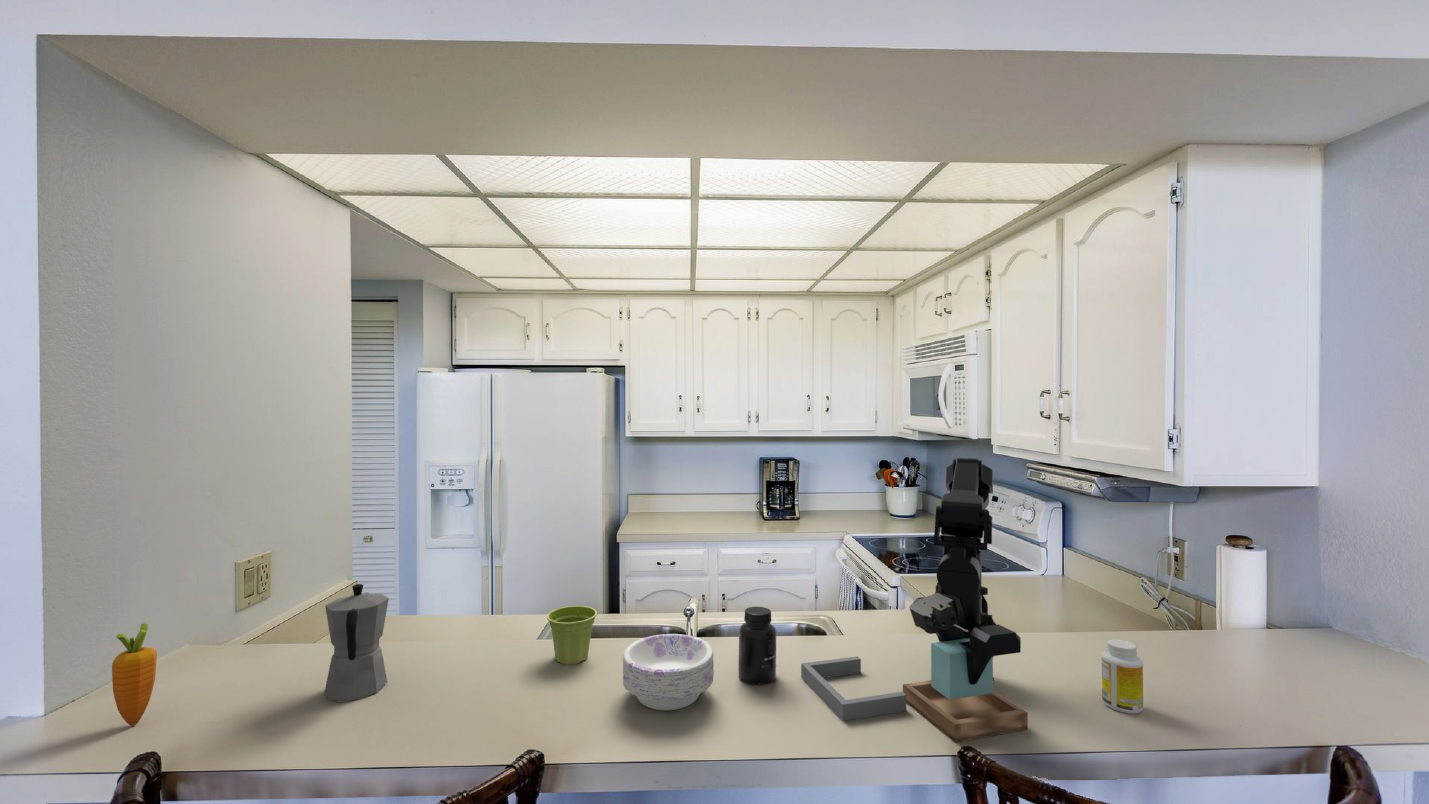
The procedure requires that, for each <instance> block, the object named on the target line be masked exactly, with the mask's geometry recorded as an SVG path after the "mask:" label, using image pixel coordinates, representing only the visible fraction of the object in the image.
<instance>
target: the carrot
mask: <svg viewBox="0 0 1429 804" xmlns="http://www.w3.org/2000/svg"><path fill="white" fill-rule="evenodd" d="M148 627H149V624H148V623H146V622H144V623H143V622H142V623H141V624H140V628H139V631H138V633H137V636H136V637H135V638H134V637H130V638H129V637H127V635H126V634H124V633H118V634H117V635H116V638H117V639H118V640H119V641H120V642H121V643H122V645H123V646H124V648H126V650H125V651H122V652H120V653H119V654H118V655H117V656H116V657H115V658H114V659H113V661H112V665H111V675H112V677H111V679H112V680H111V681H112V693H113V697H114V702H115V705H116V708H117V711H118V713H119V715H120V716H121V718H122V719H123V720H124V721H125V722H126V723H127V725H129V726H131V725H135V726H136V725H137V724H138V723H139V722H140V720H141V719H142V717H143V715H144V713H145V711H146V709H147V707H148V705H149V702H150V701H151V697H152V694H153V693H152V692H153V690H154V685H155V680H156V672H157V655H158V653H157V650H156V649H155V648H153V647H146V646H143V643H144V640H145V638H146V636H147V632H148V629H149V628H148Z"/></svg>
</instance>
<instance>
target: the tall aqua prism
mask: <svg viewBox="0 0 1429 804" xmlns="http://www.w3.org/2000/svg"><path fill="white" fill-rule="evenodd" d="M968 641H969V638H967V639H959V640H951V641H943V642H939V641H936V642H931V645H930V647H931V648H930V653H931V654H930V660H931V661H930V664H931V665H930V668H931V669H930V672H931V673H930V675H931V676H930V680H931V687H933V688H934V689H935V690H937V691H938V692H940V693H941V694H942V695H944V696H945V697H946V698H948V699H949V700H953V699H959V698H965V697H971V696H978V695H984V694H990V693H993V691H994V681H993V678H994V673H993V672H994V668H993V667H994V666H993V665H994V661H993V659H994V657H995V656H992V658H991V659H990V661H989V662H988V664H987V666H986V668H985V669H984V671H983V673H982V675H981V677H980V678H979V680H978V682H977V683H976V684H973V685H971V684H970V683H969V678H968V669H967V655H966V651H965V650H964V649H963V647H962V646H961V645H960V644H959V643H960V642H968Z"/></svg>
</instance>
